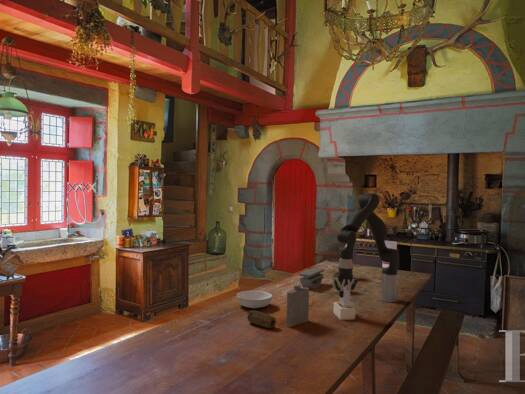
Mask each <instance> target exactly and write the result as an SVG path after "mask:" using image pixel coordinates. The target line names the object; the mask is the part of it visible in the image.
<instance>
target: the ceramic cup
mask: <svg viewBox="0 0 525 394" xmlns="http://www.w3.org/2000/svg"><path fill="white" fill-rule="evenodd" d="M338 276H339V275H334V274H333V275H331V281H332V289H333V292H335V293H339V290H337V289H336V287H335V285H334V282H333V279H337V278H338ZM337 284H338V287H339V285H340V282H339V280H338V283H337ZM344 287H347V285H344Z"/></svg>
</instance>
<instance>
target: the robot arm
mask: <svg viewBox="0 0 525 394" xmlns="http://www.w3.org/2000/svg"><path fill="white" fill-rule="evenodd" d="M358 204H359V208H360V210H359V211H358V212H356V213H354V215H353V216H352V217H351V218H350V219H349V220H348V223H346V225H344V226H342V227H341V229H339V231H338V232H337V235H336V239H337V242H339V243H341V244H346V246H344V247H340V249H339V255H340V258H339V257H338V258H339V260H338V267H339V270H338V272H339V276H338V278H337V279H333V282H334V285H335V287H336V289H337V290H339V292H338V296H339V298H340V297H341V298H342V292H343V291H342V290H343V287H344V285H346V287H347V288H348V289H349V290H350V297H351V294H352V291H354V290H355V289H356V285H357V283H358V279H356V278H354V276H353V277H352V275H353V267H354V262H353V258H354V257H353V255H354V254H353V253H354V248H355V246H356V242H357V233H358V232H359V230H360V228H361V227H362V225H363V224H364V222H366V221H367V223H368V227H369V230H370V232H371V234H372V237H373V239H374V242H375V245H376V248H377V252H378V256H379V258H380V260H381V262H383V263H388V264H389V265H388V266H387V267H384V268H382V270H381V289H380V301H383V302H385V303H396V302H398V300H399V299H398V295H399V287H398V285H397V284H398V270H399V264H400V263H399V262H400V252H399V250H398V249H396V248H390V247H387V245H386V238H387V236H388V230H387V226H386V224H385V222H384V220H382V219H383V218H382V219H381V217H380V216H378V215H377V214H376V213H375V212H374V211H375V210H376V209H377V208H378V207H379V204H380V196H379V194H377V193H372V192H368V193H360V194H359V196H358ZM338 280H339V282H340V285H339V287H338V284H337V283H338ZM333 282H332V283H333ZM351 283H352V284H351Z"/></svg>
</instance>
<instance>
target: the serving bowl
mask: <svg viewBox="0 0 525 394" xmlns="http://www.w3.org/2000/svg"><path fill="white" fill-rule="evenodd" d="M236 299H237V302H238V303H239V304H240V306H243V307H245V308H249V309H261V308H264V307H267V306H268V305H269V304H270V303H271V301H272V299H273V294H272V293H270V292H267V291H263V290H243V291H239V292H238V293H237V294H236Z"/></svg>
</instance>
